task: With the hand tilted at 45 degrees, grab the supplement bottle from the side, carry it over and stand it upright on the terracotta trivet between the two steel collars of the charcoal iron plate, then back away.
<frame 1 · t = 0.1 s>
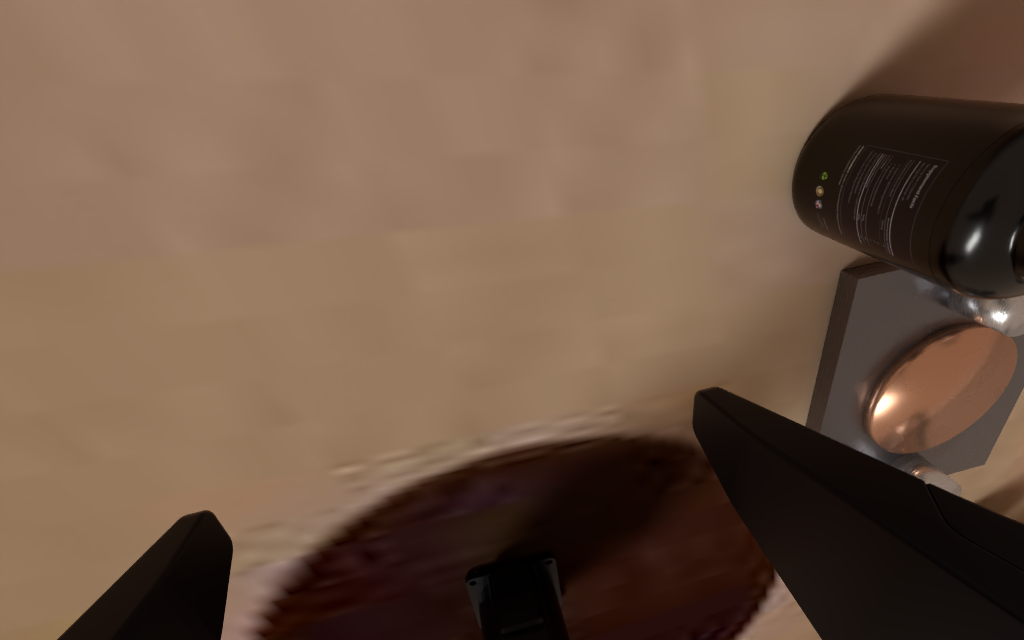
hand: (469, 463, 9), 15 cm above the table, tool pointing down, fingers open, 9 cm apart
supplement bottle: (844, 165, 24), on the table
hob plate: (916, 378, 33), on the table
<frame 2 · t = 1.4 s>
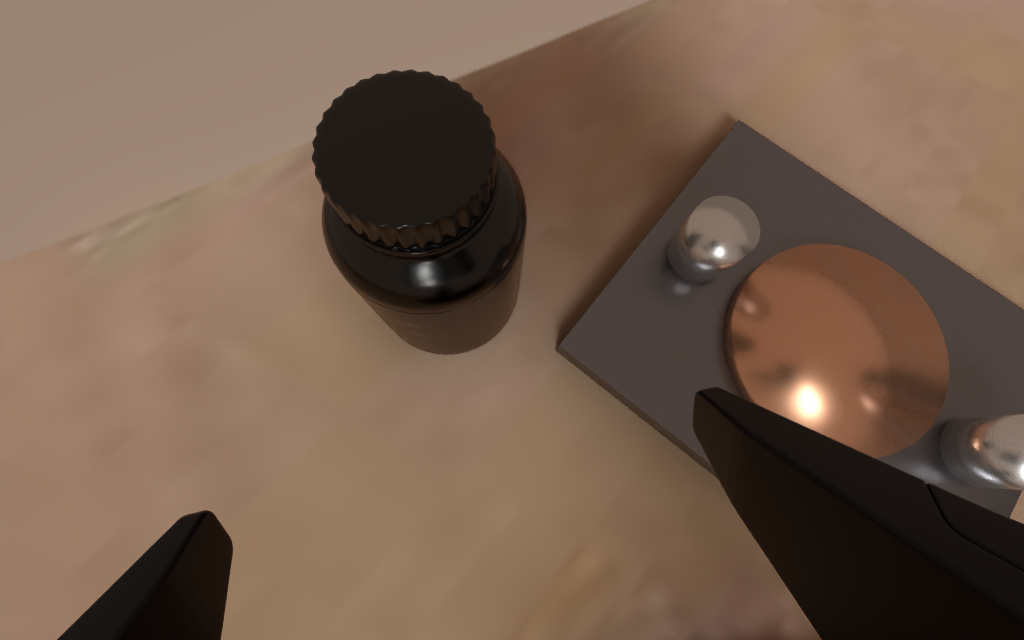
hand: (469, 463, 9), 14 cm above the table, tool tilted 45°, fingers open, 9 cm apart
supplement bottle: (448, 292, 24), on the table
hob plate: (812, 353, 24), on the table
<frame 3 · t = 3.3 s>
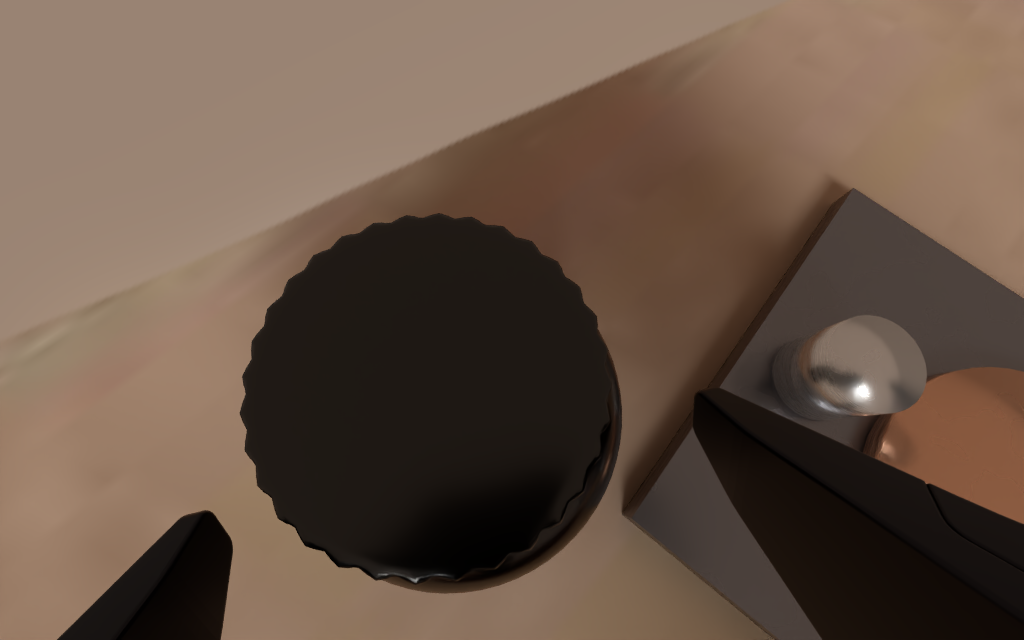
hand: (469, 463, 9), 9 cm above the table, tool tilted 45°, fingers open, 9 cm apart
supplement bottle: (473, 428, 18), on the table
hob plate: (970, 512, 17), on the table
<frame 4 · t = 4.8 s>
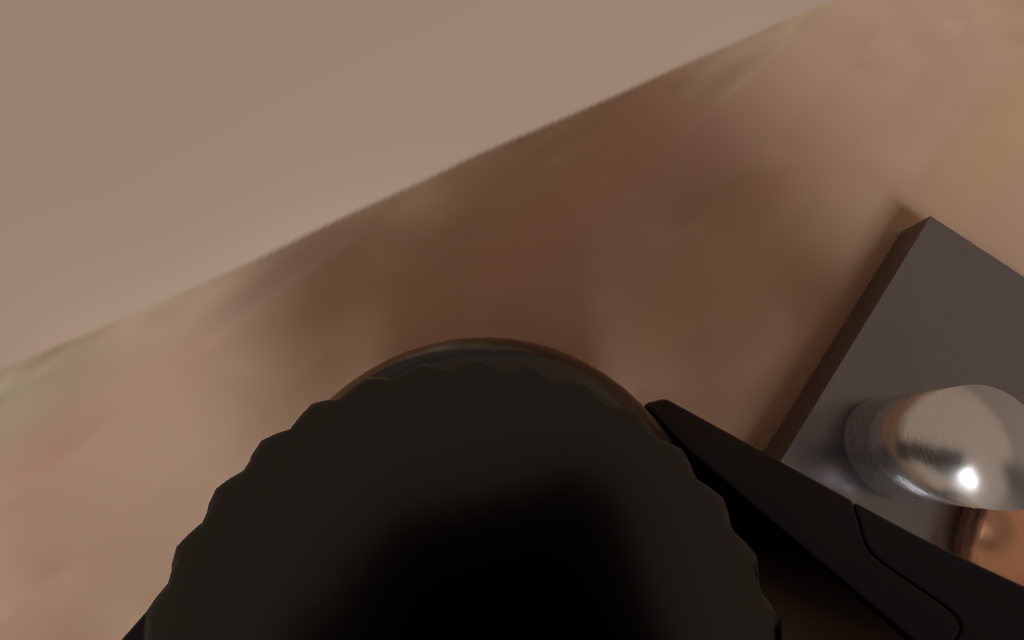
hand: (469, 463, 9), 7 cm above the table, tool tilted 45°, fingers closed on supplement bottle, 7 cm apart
supplement bottle: (489, 502, 15), on the table, touching gripper
when the fingers open (10 cm above the table, at t = 9.9 s): supplement bottle drops 1 cm, resting on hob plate.
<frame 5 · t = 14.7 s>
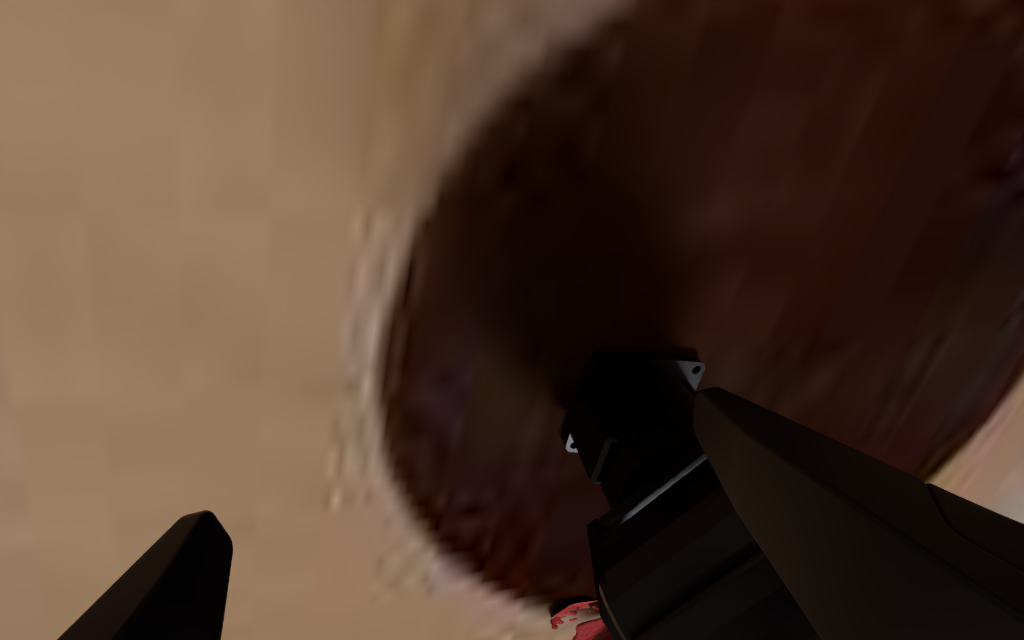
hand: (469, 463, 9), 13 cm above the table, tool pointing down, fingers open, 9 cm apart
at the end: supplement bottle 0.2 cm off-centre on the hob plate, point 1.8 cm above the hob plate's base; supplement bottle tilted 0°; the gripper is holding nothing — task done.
